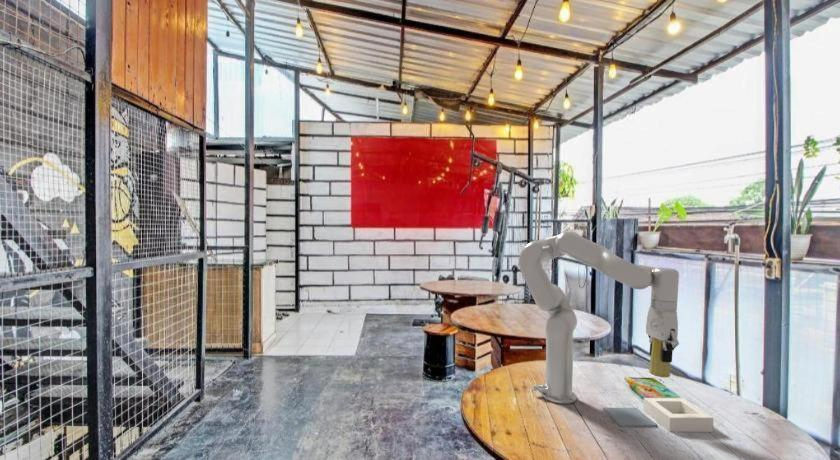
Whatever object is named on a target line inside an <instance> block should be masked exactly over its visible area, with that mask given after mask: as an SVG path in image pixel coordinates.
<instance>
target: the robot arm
mask: <svg viewBox="0 0 840 460" xmlns="http://www.w3.org/2000/svg"><path fill="white" fill-rule="evenodd" d="M563 256H567V257H568V258H569V257H570V258H571V259H574V260H576V261H578V262H579V263H582V264H584V265H586V266H589V267H591V268H592V269H594V270H595V271H597V272H600V273H602V274H603V275H605V276H606V277H609V278H611V279H613V280H614V281H616V282H618V283H621V284H623V285H624V286H627V287H630V288H631V289H634V290H645V289H647V288H649V287H651V292H650V293H651V295H650V305H649V308H648V310H647V311H648V312H647V317H646V323H645V324H646V325H645V333H646V334H647V335H648V338H649V341H648V342H649V356H651V351H652V340H653V337H654V338H656V339H658V340H660V341H663V348H664V350H662V359H661V361H662V362H670V363H672V362H673V351H675V349H676V347H677V346H679V345H680V343H679V339H678V335H679V334H678V332H679V327H678V325H679V322H678V312H677V311H678V297H679V293H678V292H679V283H680V282H679V279H680V272H679V271H678V270H677V269H676V268H671V267H653V266H649V265H643V264H634V263H632V262H630V261H627V260H626V259H624V258H622V257H620V256H618V255H616V254H614V253H613V252H612V251H611V250H610V249H608V248H607V247H605V246H604V245H601V244H599V243H597V242H594V241H591V240H590V239H587V238H585V237H584V236H581V235H580V234H579V233H578V232H576V231H571V230H570V231H563V232H561V233H560V234H558V235H555V236H554V235H553V236H551V237H546V238H544V239H538V240H532V241H531V242H529V243H527V244H526V245H524V247H523V249H521V251H520V254H519V256H518V267H519V271H520V273H521V275H522V277H523V280H524V281H525V284H526V286H527V288H528V290H529V292H530V294H531V297H532V298H533V300H534V302H535V304H536V306H537V307H538V309H540V310H541V311H543V312H546V313H547V315H548V316H549V317H548V318H547V320H546V323H545V327H544V328H545V356H546V357H545V381H542V383H541V384H540V385H539V384H532V390H533V391H538V393H540V394H541V396H542V398H543V399H545V400H547V401H549V402H552V403H557V404H562V405H563V404H565V405H566V404H568V405H569V404H573V403H574V402H576V401H577V395H576V393H575V392H573V371H574V368H573V367H574V363H573V362H574V357H573V356H574V340H573V339H574V338H573V337H574V336H573V334H574V331H575V329H576V328H577V324H578V320H577V316H576V313H575V311H574V310H573V307H572V305H571V304H570V302H569V300H568V298H567V296H566V293H565V292H564V291H563V289H562V288H561V287H559V286H558V285H557V284H553V283H552V282H551V280H550V279H549V276H548V273H547V272H546V271H545V268H544V267H543V265H542V262H546V261H548V260H552V259H553V260H554V259H556V258H560V257H563ZM668 339H669V340H668ZM667 342H669V344H668V345H667Z"/></svg>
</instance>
